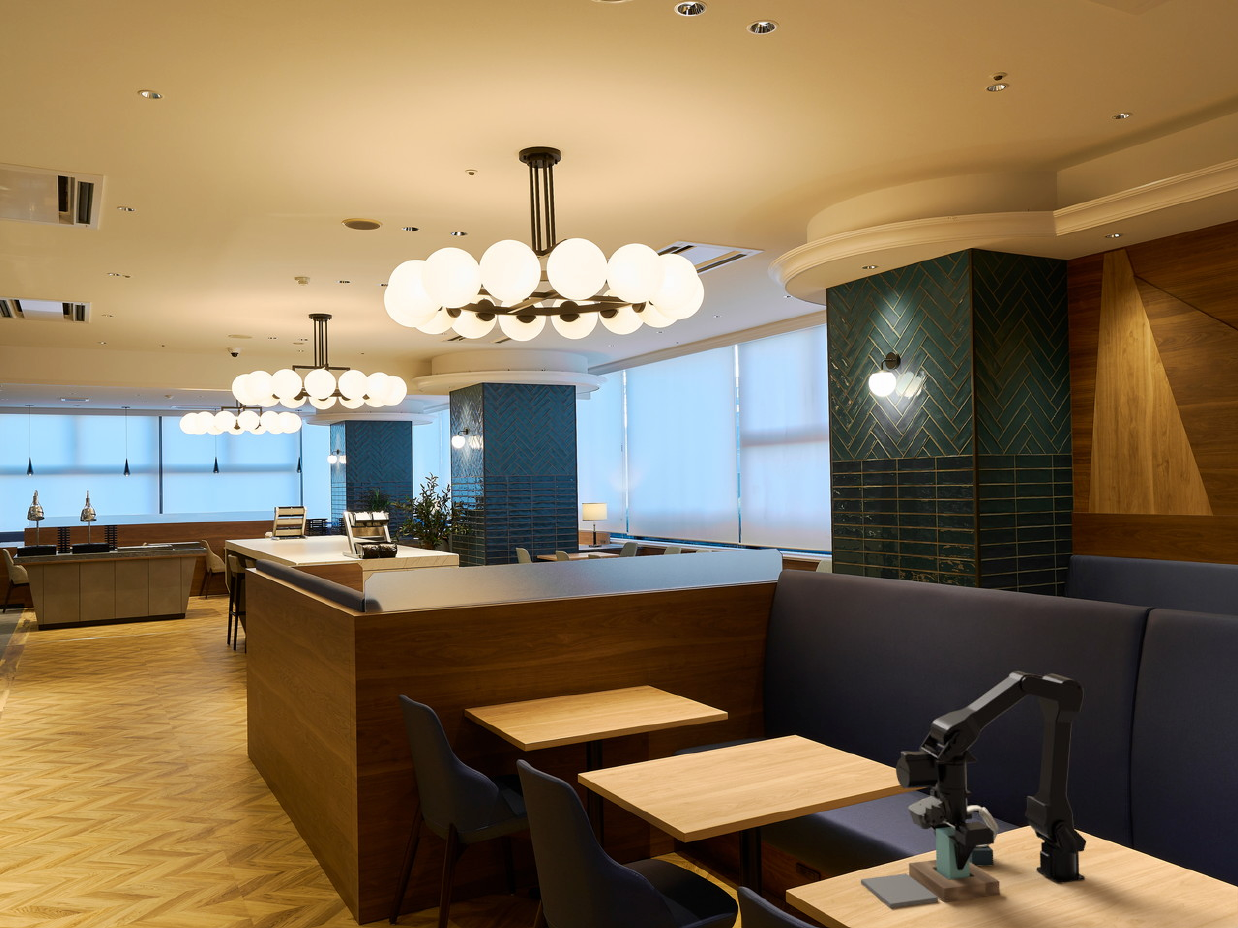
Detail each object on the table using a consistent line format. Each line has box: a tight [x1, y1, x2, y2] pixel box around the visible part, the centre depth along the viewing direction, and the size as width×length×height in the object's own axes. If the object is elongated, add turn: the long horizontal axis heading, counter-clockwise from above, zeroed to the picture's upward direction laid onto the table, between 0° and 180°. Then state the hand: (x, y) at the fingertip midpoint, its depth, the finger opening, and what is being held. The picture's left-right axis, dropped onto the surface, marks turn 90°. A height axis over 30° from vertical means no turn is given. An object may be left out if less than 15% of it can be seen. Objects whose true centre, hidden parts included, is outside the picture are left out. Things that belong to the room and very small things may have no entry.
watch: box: [967, 804, 1000, 866], centre depth 192 cm, size 6×8×11 cm
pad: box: [860, 873, 939, 909], centre depth 177 cm, size 10×11×1 cm
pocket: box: [908, 859, 1001, 903], centre depth 180 cm, size 12×12×2 cm
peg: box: [935, 827, 970, 880], centre depth 180 cm, size 4×4×10 cm
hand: (952, 864), depth 180 cm, fingers closed on peg, 4 cm apart
